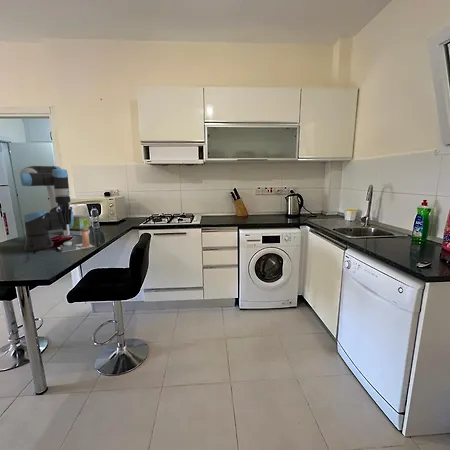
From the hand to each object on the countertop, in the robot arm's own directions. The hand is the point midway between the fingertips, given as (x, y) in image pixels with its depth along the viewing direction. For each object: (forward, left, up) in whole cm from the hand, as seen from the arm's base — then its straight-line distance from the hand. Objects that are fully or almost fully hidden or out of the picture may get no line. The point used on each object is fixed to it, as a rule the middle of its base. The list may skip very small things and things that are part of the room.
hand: (66, 235), depth 160 cm
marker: (+10, 0, -9) cm, 13 cm away
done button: (0, 0, -7) cm, 7 cm away
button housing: (0, 0, -10) cm, 10 cm away
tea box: (+18, +52, -10) cm, 56 cm away
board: (+5, +3, -10) cm, 12 cm away
